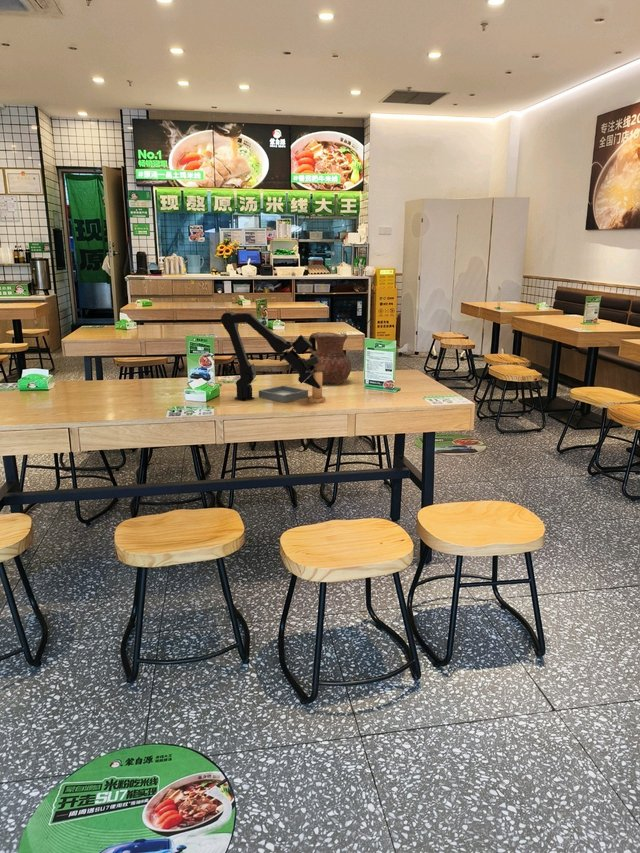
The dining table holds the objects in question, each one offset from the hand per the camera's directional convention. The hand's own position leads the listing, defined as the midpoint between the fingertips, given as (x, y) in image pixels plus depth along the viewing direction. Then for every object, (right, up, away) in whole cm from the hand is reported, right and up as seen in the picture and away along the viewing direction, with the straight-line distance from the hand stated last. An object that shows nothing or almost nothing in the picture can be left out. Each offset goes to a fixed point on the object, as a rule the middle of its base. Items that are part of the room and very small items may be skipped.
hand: (320, 386), depth 276 cm
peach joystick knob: (-1, -6, +2) cm, 7 cm away
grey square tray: (-17, -4, +10) cm, 20 cm away
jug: (+5, +5, +43) cm, 43 cm away
